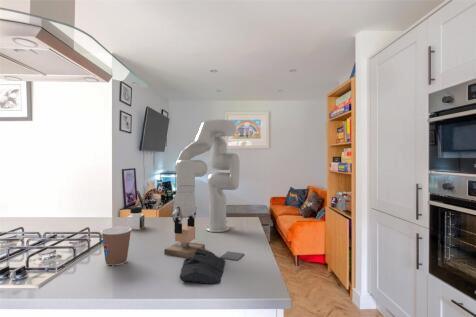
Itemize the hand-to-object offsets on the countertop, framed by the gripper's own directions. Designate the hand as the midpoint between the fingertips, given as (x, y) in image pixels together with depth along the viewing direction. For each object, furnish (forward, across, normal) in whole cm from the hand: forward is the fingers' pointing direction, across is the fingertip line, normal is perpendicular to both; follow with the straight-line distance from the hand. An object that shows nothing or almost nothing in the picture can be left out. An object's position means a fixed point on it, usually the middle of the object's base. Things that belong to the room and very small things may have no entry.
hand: (184, 230), depth 112 cm
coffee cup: (+9, +19, -17) cm, 27 cm away
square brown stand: (+9, -1, 0) cm, 9 cm away
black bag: (+10, +14, +16) cm, 23 cm away
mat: (+9, -3, +20) cm, 22 cm away
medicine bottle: (+8, -25, -47) cm, 54 cm away
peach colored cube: (+4, -1, 0) cm, 4 cm away
